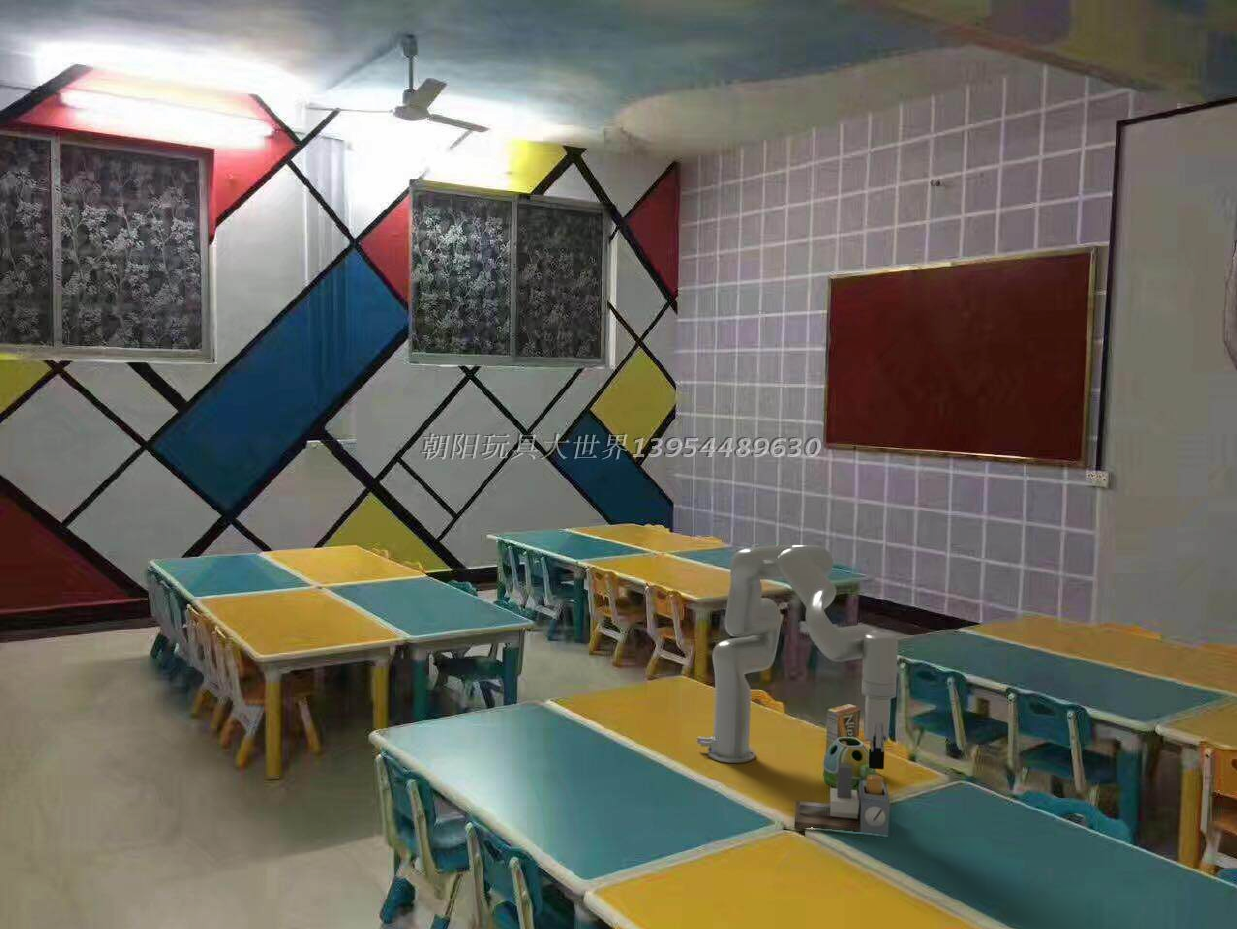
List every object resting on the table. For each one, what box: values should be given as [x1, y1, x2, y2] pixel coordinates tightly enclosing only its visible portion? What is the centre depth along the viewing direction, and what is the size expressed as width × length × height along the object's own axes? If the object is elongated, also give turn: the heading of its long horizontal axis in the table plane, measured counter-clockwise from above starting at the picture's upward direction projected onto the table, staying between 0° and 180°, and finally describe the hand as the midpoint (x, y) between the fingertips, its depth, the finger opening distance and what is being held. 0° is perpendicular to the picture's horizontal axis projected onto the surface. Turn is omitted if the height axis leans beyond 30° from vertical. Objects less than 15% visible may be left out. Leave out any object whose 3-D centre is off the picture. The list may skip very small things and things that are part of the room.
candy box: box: [825, 703, 861, 753], centre depth 273 cm, size 9×4×15 cm, turn 129°
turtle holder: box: [822, 737, 878, 793], centre depth 255 cm, size 12×18×12 cm
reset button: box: [866, 774, 884, 795], centre depth 235 cm, size 4×4×4 cm
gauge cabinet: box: [858, 780, 891, 836], centre depth 236 cm, size 6×12×8 cm, turn 169°
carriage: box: [829, 763, 859, 818], centre depth 237 cm, size 6×8×11 cm
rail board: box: [793, 800, 861, 832], centre depth 238 cm, size 14×12×4 cm
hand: (876, 767), depth 235 cm, fingers closed
